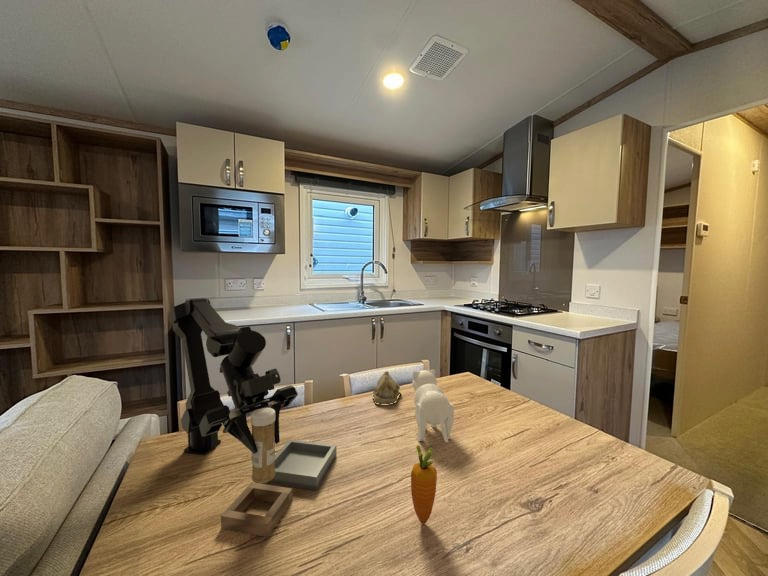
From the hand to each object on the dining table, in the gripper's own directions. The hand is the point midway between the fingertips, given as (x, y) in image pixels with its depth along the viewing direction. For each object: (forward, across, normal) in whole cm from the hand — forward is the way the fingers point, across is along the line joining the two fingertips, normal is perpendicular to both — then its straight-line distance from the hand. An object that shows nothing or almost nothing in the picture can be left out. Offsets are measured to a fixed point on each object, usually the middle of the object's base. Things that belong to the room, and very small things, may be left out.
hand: (267, 447), depth 63 cm
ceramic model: (-4, +58, +24) cm, 63 cm away
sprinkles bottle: (+4, 0, +6) cm, 7 cm away
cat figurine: (+15, +48, +4) cm, 50 cm away
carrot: (+27, +18, -8) cm, 33 cm away
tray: (+5, +12, +14) cm, 19 cm away
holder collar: (+9, -1, +10) cm, 13 cm away
